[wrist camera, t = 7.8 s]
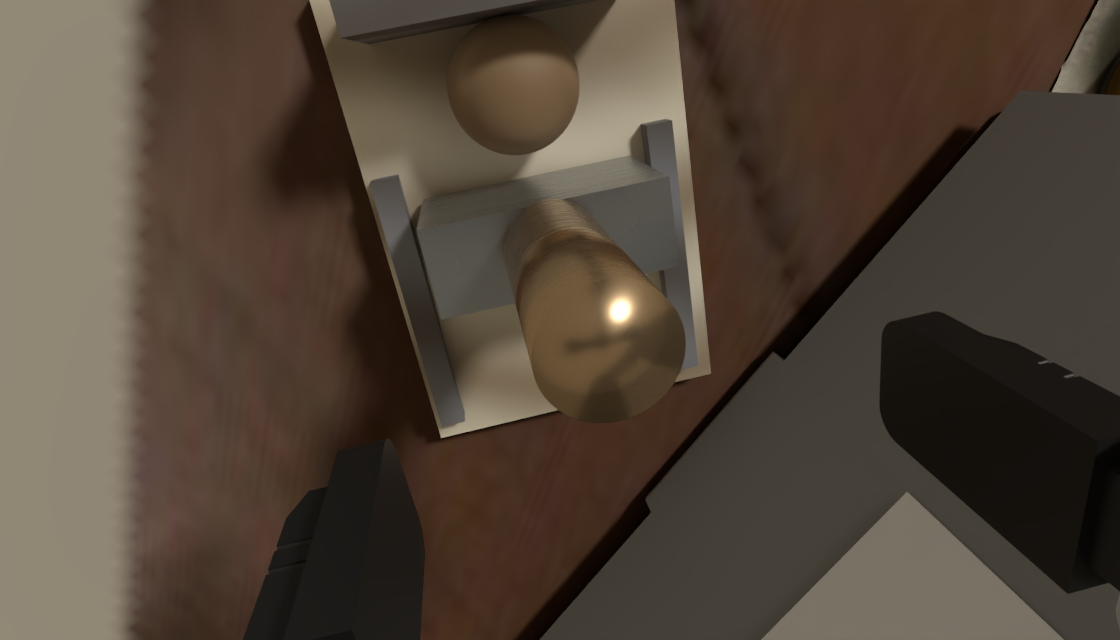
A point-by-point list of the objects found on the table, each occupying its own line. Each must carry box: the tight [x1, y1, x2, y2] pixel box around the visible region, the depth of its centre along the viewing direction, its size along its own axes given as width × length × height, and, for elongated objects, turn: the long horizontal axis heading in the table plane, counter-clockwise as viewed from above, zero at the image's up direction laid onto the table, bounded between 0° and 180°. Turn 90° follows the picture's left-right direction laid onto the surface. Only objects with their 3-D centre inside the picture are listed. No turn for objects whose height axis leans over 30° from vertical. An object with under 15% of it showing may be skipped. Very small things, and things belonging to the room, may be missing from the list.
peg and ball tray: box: [310, 0, 711, 438], centre depth 23 cm, size 18×12×7 cm
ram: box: [416, 156, 686, 423], centre depth 19 cm, size 3×8×13 cm, turn 100°
